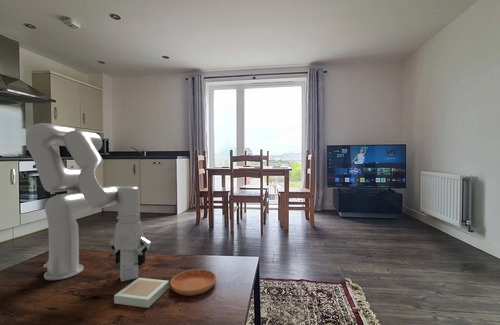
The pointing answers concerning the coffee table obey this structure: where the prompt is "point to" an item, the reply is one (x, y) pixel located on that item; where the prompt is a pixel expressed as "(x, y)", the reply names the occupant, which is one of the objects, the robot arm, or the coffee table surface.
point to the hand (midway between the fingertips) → (130, 263)
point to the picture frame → (141, 292)
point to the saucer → (193, 282)
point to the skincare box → (128, 264)
